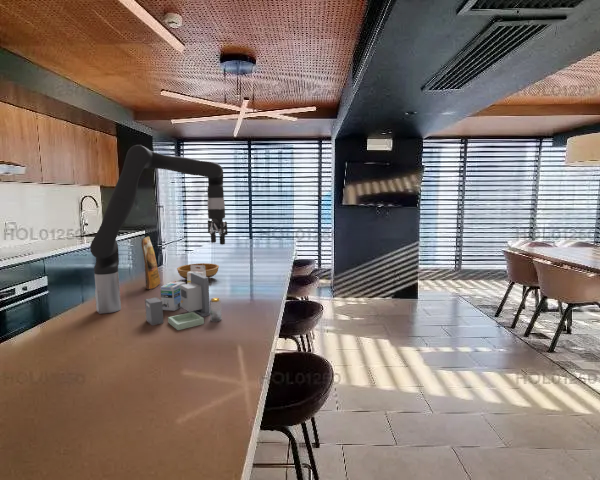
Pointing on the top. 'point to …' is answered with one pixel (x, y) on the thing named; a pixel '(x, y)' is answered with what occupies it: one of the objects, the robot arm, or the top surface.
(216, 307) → the cylinder
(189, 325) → the parts tray
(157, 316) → the grey block
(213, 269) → the tan wooden bowl
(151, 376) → the top surface
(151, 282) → the pancake mix bag
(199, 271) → the ink cartridge box
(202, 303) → the wall unit
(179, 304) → the light bulb box
